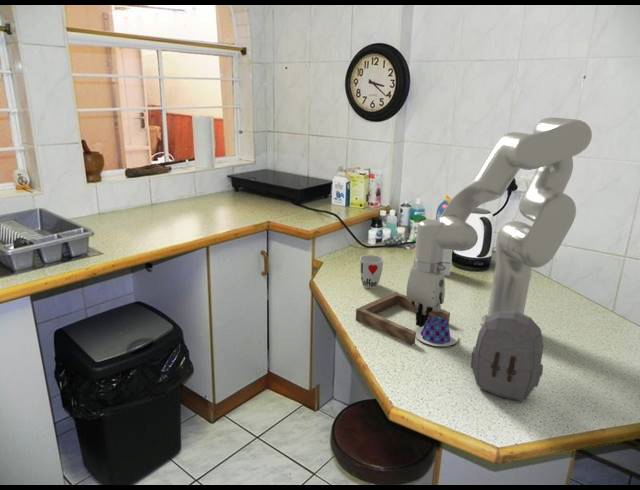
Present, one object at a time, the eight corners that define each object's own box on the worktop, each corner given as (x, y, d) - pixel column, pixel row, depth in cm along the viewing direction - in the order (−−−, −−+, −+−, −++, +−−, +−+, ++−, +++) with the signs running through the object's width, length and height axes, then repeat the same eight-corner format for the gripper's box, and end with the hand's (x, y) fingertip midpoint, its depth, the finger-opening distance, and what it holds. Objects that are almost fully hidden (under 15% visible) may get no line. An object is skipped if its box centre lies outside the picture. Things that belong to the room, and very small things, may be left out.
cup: (354, 286, 162) (356, 260, 159) (363, 279, 169) (365, 253, 166) (376, 291, 159) (378, 264, 156) (384, 284, 165) (386, 257, 162)
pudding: (446, 353, 122) (448, 335, 120) (406, 338, 129) (407, 321, 127) (464, 336, 131) (467, 319, 129) (425, 323, 138) (427, 307, 136)
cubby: (448, 323, 138) (450, 312, 137) (411, 345, 125) (412, 333, 124) (394, 301, 151) (395, 291, 150) (355, 319, 138) (356, 308, 137)
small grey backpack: (538, 394, 106) (554, 315, 100) (533, 414, 99) (550, 330, 93) (471, 373, 113) (482, 298, 107) (462, 391, 106) (473, 312, 100)
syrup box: (450, 276, 175) (454, 239, 170) (434, 274, 176) (438, 237, 171) (449, 270, 180) (453, 234, 176) (433, 269, 181) (437, 233, 177)
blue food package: (446, 249, 205) (453, 193, 197) (452, 258, 194) (460, 200, 186) (432, 249, 205) (438, 193, 198) (437, 258, 194) (444, 199, 186)
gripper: (459, 269, 125) (451, 330, 131) (413, 255, 135) (407, 312, 141) (443, 276, 120) (436, 339, 126) (397, 260, 130) (392, 319, 136)
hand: (421, 324), depth 133 cm, fingers closed
